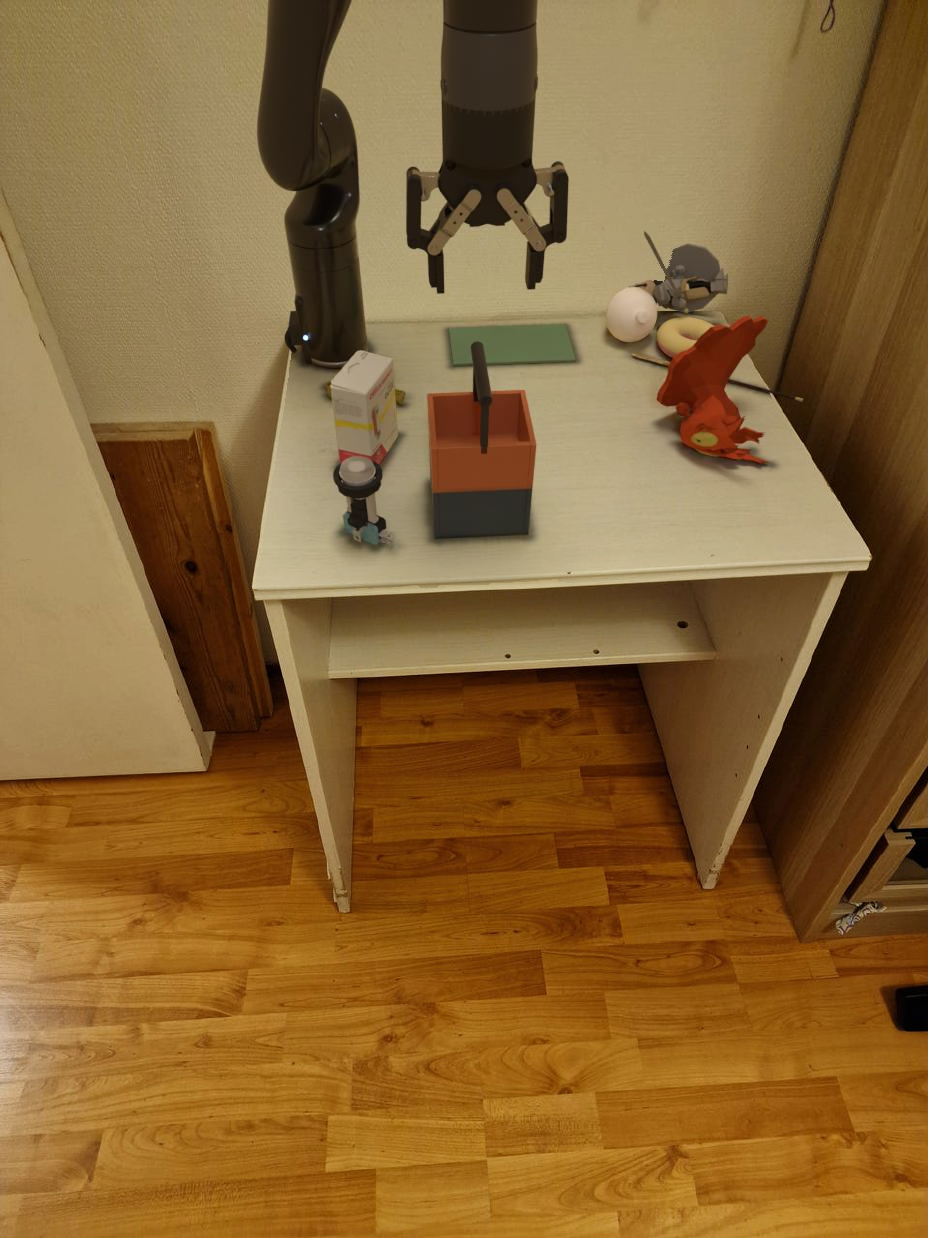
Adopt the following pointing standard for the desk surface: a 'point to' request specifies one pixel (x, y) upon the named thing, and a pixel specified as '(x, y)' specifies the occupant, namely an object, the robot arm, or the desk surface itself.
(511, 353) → the mat
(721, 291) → the toy
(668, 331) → the donut
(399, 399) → the key
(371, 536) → the push button
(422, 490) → the desk surface
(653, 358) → the brush
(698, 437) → the toy
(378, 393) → the ink box
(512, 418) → the box
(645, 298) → the spinning top
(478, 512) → the bottom basket
